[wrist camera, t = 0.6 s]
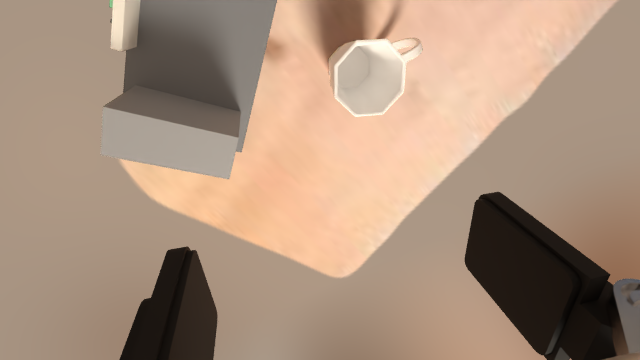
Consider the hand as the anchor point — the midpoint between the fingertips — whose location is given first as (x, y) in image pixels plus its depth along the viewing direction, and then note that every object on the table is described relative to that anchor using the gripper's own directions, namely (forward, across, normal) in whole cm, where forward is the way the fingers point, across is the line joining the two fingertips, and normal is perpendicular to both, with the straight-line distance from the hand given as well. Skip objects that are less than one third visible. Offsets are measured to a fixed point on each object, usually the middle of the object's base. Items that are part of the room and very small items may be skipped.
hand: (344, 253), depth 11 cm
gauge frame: (+28, +6, -7) cm, 29 cm away
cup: (+28, -9, -1) cm, 30 cm away
